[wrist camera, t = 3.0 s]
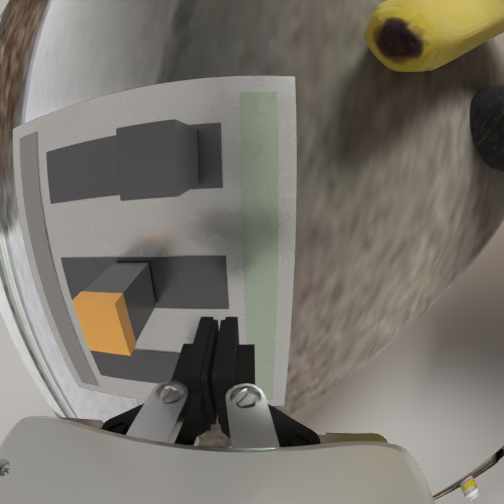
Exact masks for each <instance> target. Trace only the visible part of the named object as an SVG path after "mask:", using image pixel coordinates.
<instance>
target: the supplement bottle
mask: <svg viewBox="0 0 504 504" xmlns="http://www.w3.org/2000/svg"><path fill="white" fill-rule="evenodd" d="M460 486H461V489H462V491H463V493H464V496H465V498H469V501H471V500H472V499H474V498H475V497H477V496H478V494H477V491H478V488H477V485H476V483H475V481H474V479H473V477H472V476H469V477H468V478H466V479H465V480H463V481H462V482H461V483H460Z"/></svg>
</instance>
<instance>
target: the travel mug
mask: <svg viewBox="0 0 504 504" xmlns="http://www.w3.org/2000/svg"><path fill="white" fill-rule="evenodd" d="M470 120H471V128H472V133H473V137H474V141H475V144H476V146H477V149H478V151H479V153H480V155H481V156H482V158H483V159H484V161H485V162H486V163H487V164H488V165H490V166H491V167H493V168H495V169H498V170H501V171H504V85H501V86H495V87H490V88H485V89H482V90H480V91H478V92H477V93H476V94H475V96H474V98H473V100H472V104H471V110H470Z"/></svg>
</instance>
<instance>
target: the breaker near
mask: <svg viewBox="0 0 504 504" xmlns="http://www.w3.org/2000/svg"><path fill="white" fill-rule="evenodd" d="M116 142H117V164H118V178H119V190H120V200H121V201H127V200H139V199H151V198H165V197H179V196H180V195H182V194H183V193H185V192H187V191H188V190H190V189H192V188H193V187H195V186H196V185H198V184H199V169H198V139H197V129H196V128H194V127H192V126H189V125H187V124H185V123H183V122H180V121H178V120H176V119H172V120H164V121H157V122H150V123H143V124H137V125H131V126H126V127H120V128H116Z"/></svg>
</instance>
